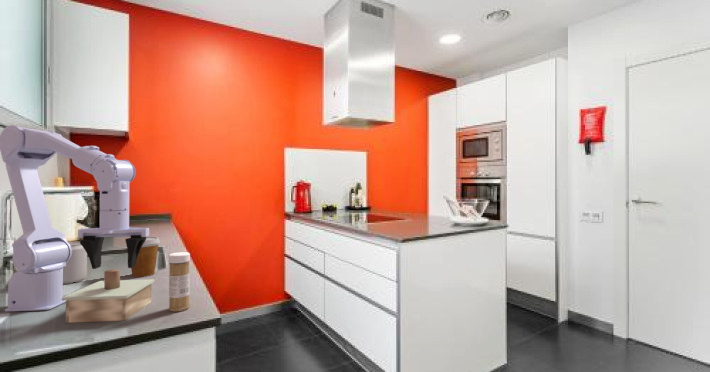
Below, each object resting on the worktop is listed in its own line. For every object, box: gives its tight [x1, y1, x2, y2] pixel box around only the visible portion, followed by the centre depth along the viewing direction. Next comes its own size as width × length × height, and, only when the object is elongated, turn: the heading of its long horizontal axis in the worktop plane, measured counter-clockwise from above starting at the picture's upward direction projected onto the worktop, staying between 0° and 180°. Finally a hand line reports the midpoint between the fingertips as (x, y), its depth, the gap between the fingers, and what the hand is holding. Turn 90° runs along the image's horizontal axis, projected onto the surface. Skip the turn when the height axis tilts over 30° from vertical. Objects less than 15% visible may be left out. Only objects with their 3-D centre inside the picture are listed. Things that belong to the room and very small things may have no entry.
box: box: [65, 283, 152, 324], centre depth 79 cm, size 12×12×5 cm
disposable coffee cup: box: [130, 236, 161, 278], centre depth 112 cm, size 10×10×12 cm
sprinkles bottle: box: [168, 251, 191, 313], centre depth 81 cm, size 5×5×14 cm
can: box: [63, 241, 88, 285], centre depth 104 cm, size 8×8×12 cm
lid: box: [62, 268, 155, 301], centre depth 79 cm, size 13×13×5 cm
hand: (114, 267), depth 80 cm, fingers open, 7 cm apart
